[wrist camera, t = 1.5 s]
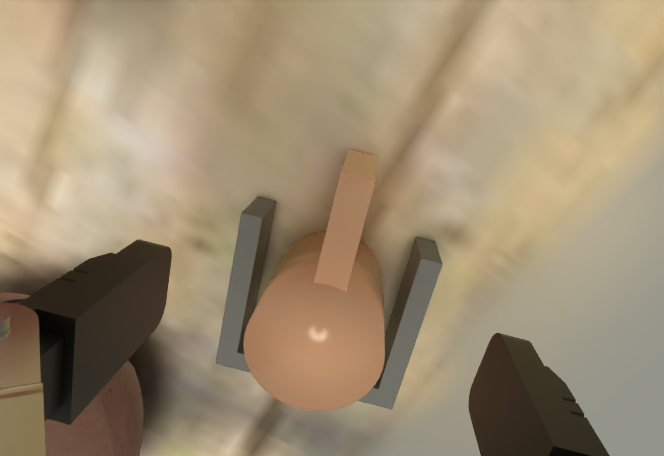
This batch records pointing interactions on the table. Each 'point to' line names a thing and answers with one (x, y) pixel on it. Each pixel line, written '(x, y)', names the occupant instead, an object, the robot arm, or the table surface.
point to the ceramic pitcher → (99, 417)
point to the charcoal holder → (400, 327)
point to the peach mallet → (324, 307)
